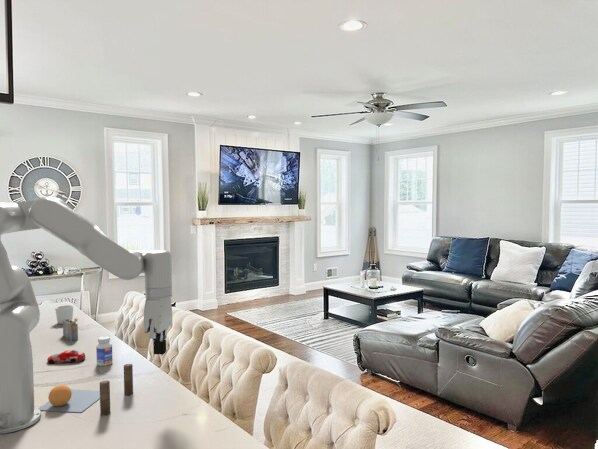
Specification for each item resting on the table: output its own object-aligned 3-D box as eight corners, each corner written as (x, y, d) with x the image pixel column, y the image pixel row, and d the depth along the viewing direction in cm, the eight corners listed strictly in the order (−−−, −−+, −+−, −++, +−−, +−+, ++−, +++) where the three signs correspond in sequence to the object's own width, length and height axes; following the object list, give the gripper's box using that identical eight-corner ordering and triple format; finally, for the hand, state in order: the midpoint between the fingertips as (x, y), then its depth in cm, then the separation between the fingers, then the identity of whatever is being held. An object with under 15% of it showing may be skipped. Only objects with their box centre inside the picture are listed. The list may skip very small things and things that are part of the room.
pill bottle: (106, 366, 159) (105, 340, 159) (93, 365, 160) (92, 339, 160) (115, 361, 164) (115, 336, 164) (103, 360, 165) (102, 335, 165)
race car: (44, 365, 162) (44, 354, 162) (51, 360, 167) (51, 349, 167) (81, 363, 163) (80, 353, 163) (87, 358, 168) (86, 348, 168)
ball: (40, 404, 125) (59, 413, 125) (50, 385, 125) (69, 394, 125) (51, 396, 131) (69, 404, 131) (60, 378, 131) (78, 387, 131)
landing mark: (81, 412, 124) (81, 412, 124) (36, 410, 125) (36, 409, 125) (108, 391, 138) (108, 391, 138) (67, 389, 139) (67, 389, 139)
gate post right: (130, 395, 135) (129, 366, 134) (122, 395, 135) (121, 366, 135) (134, 391, 138) (134, 363, 137) (126, 391, 138) (126, 363, 137)
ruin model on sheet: (79, 340, 191) (78, 318, 191) (71, 342, 189) (71, 320, 188) (70, 335, 199) (69, 314, 199) (63, 336, 197) (62, 315, 196)
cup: (59, 320, 224) (58, 304, 223) (76, 318, 226) (75, 303, 226) (54, 325, 214) (53, 309, 213) (72, 324, 216) (71, 308, 216)
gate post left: (107, 415, 122) (106, 384, 122) (98, 415, 122) (97, 384, 122) (112, 411, 125) (111, 380, 124) (103, 411, 125) (102, 380, 124)
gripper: (157, 287, 136) (158, 344, 137) (134, 297, 121) (135, 362, 122) (180, 287, 135) (181, 345, 136) (159, 298, 120) (161, 363, 121)
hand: (159, 353), depth 129 cm, fingers closed
